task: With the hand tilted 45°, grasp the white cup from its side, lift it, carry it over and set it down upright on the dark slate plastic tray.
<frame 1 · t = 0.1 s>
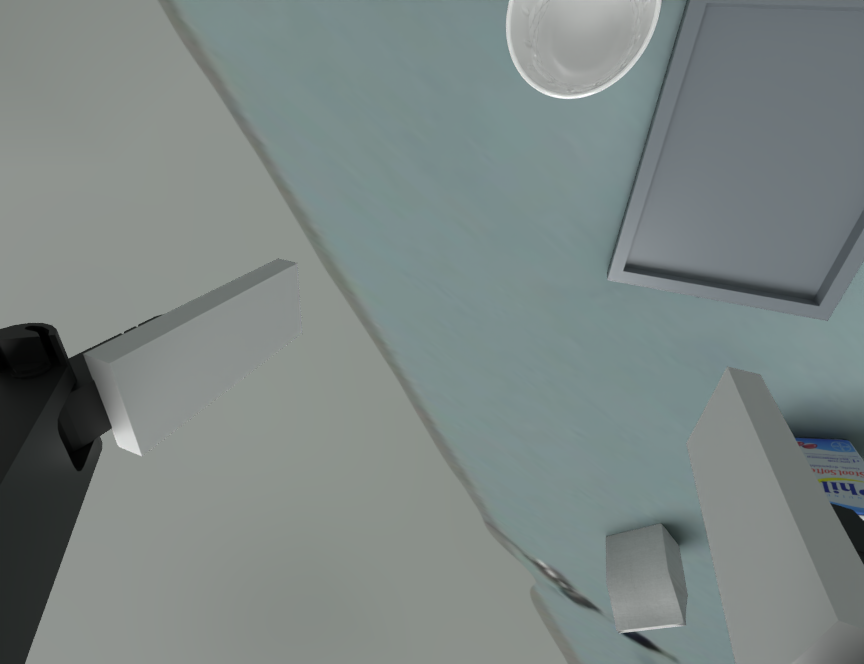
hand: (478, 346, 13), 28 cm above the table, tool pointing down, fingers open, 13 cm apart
medicine box: (789, 453, 40), on the table
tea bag: (641, 539, 51), on the table
tray: (760, 165, 31), on the table
white cup: (585, 39, 32), on the table
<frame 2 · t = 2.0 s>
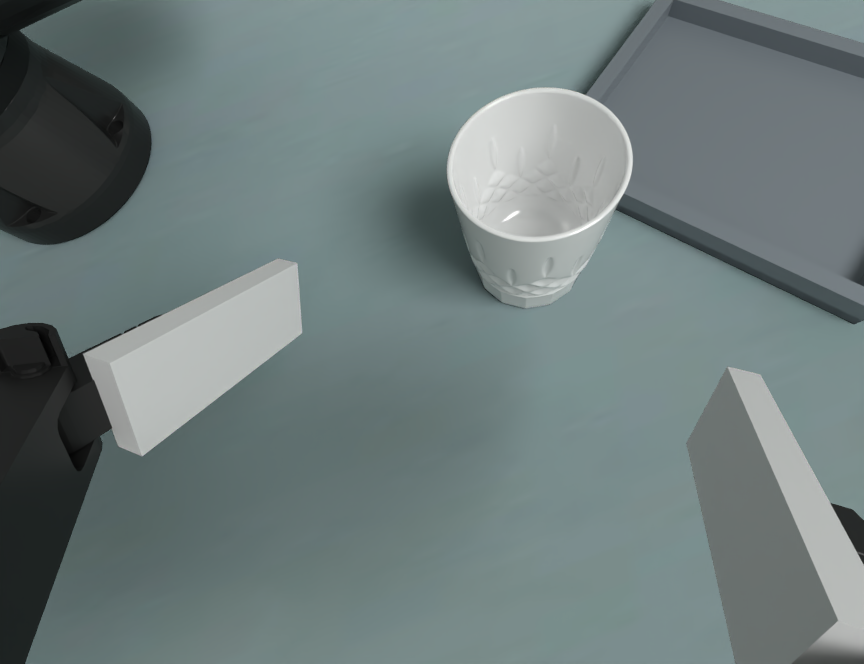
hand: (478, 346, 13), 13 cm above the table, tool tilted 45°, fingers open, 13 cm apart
tray: (742, 143, 28), on the table
white cup: (527, 262, 28), on the table
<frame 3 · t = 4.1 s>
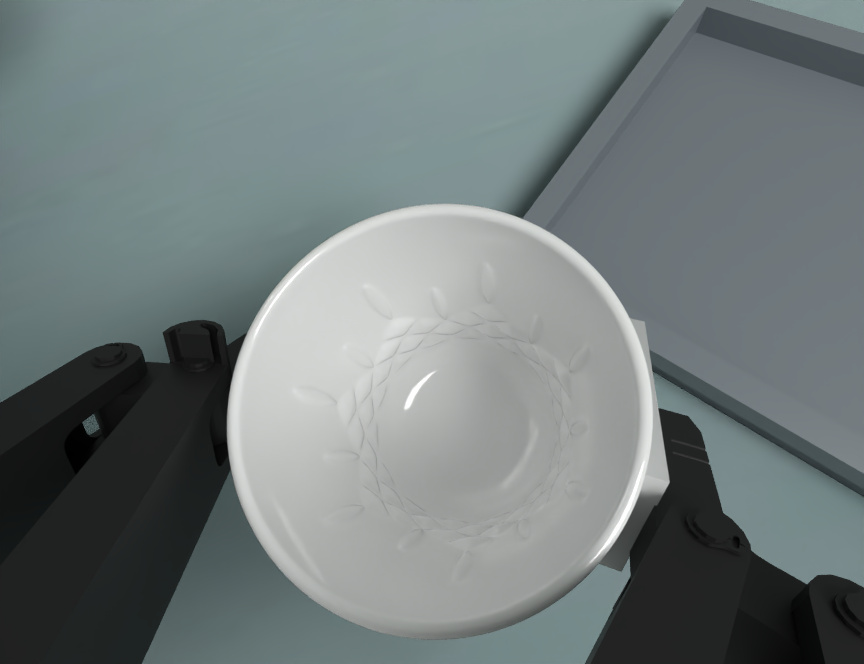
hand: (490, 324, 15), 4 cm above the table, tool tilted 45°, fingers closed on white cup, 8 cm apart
tray: (822, 244, 17), on the table
white cup: (471, 430, 18), on the table, touching gripper
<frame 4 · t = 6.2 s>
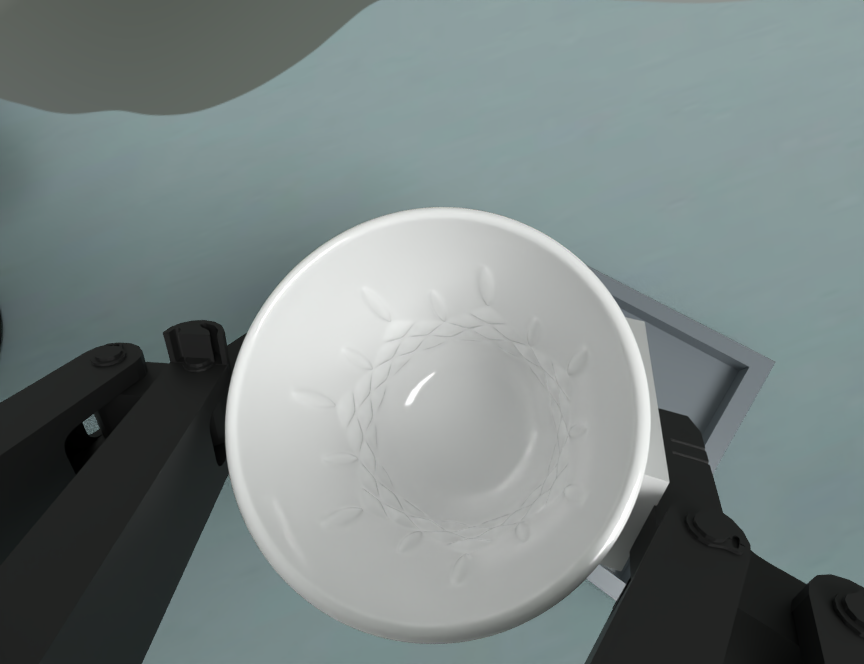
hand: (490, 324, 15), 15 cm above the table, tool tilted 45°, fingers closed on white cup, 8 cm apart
tray: (544, 386, 28), on the table
white cup: (470, 432, 18), point 11 cm above the table, touching gripper
when the fingers open (6 cm above the table, at t = 8.6 s): white cup drops 1 cm, resting on tray.
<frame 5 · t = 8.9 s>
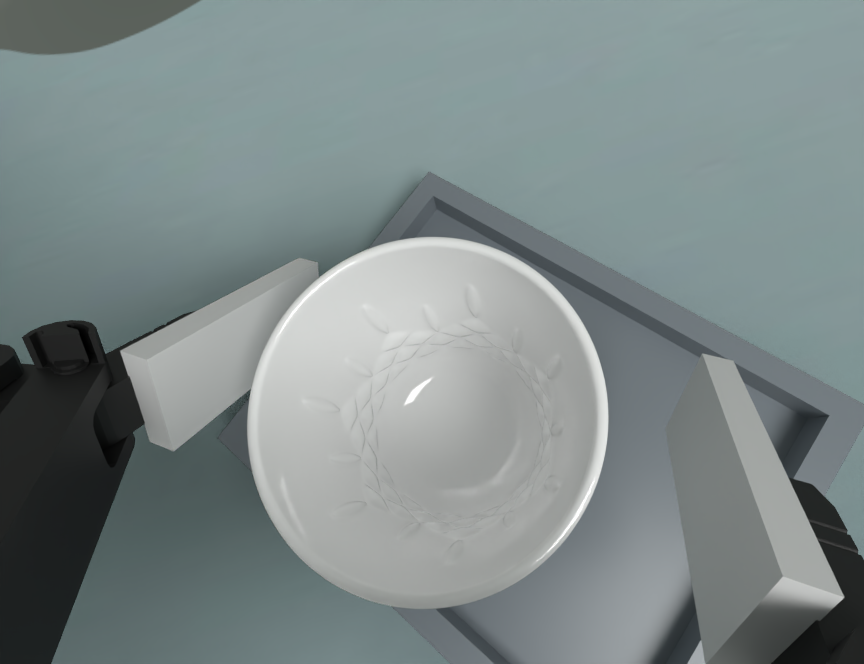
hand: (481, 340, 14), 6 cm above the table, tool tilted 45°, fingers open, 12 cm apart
tray: (506, 428, 19), on the table
white cup: (464, 432, 19), resting on tray
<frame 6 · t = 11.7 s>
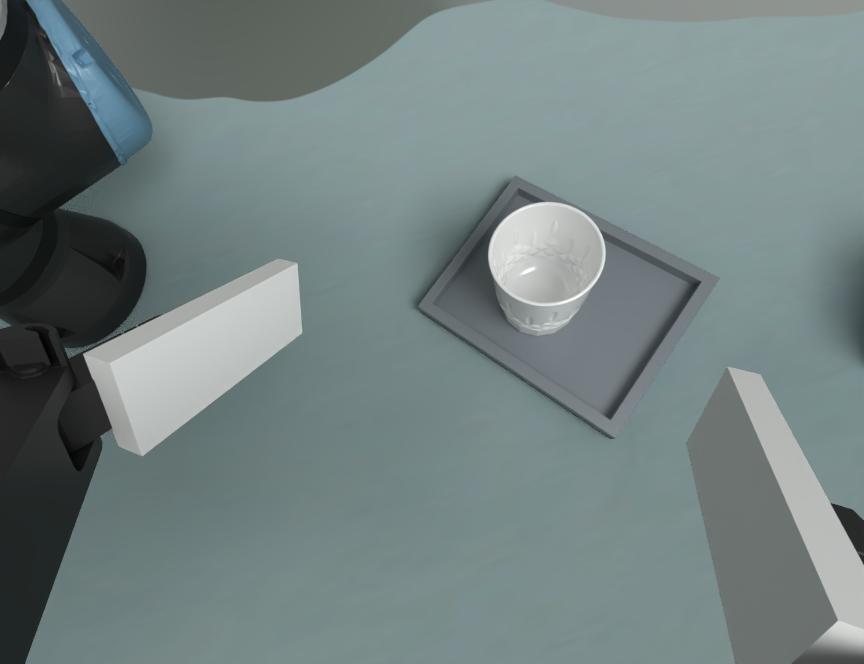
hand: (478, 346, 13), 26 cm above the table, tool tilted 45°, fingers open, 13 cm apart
tray: (558, 300, 40), on the table
white cup: (538, 301, 39), resting on tray
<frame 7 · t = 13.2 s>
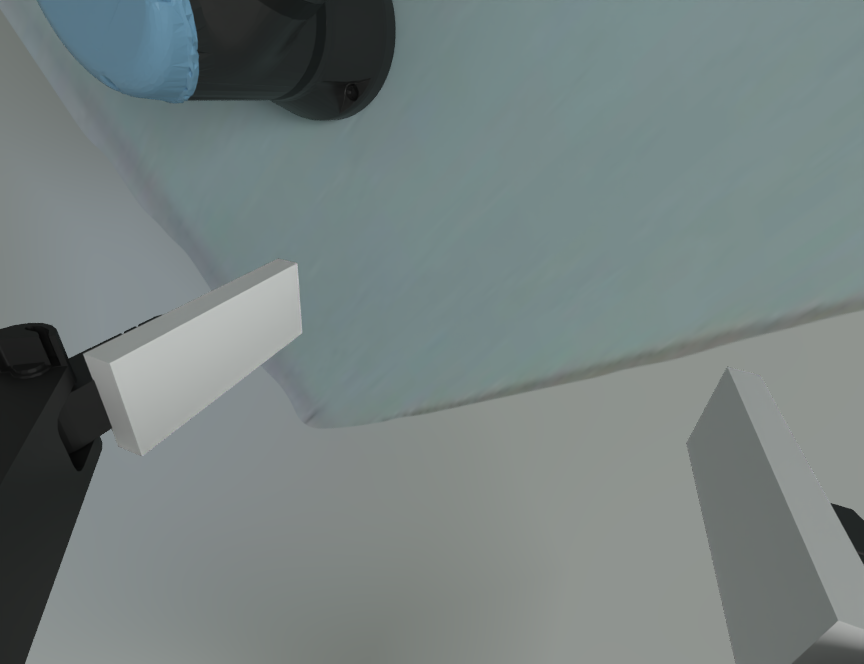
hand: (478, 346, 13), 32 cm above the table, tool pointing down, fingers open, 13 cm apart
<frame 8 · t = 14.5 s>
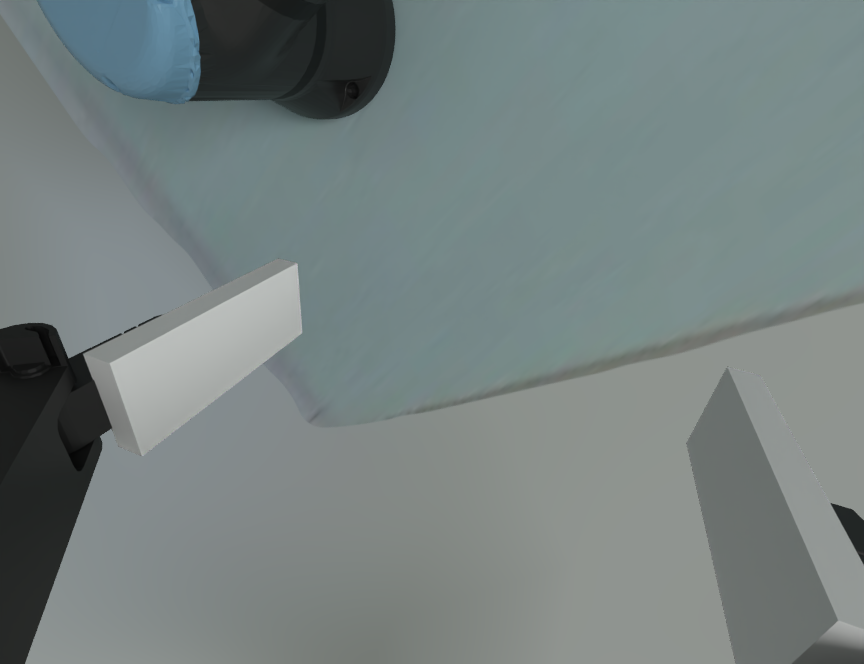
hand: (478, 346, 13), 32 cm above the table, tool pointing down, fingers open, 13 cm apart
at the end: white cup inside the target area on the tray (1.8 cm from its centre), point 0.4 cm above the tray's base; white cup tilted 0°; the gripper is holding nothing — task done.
